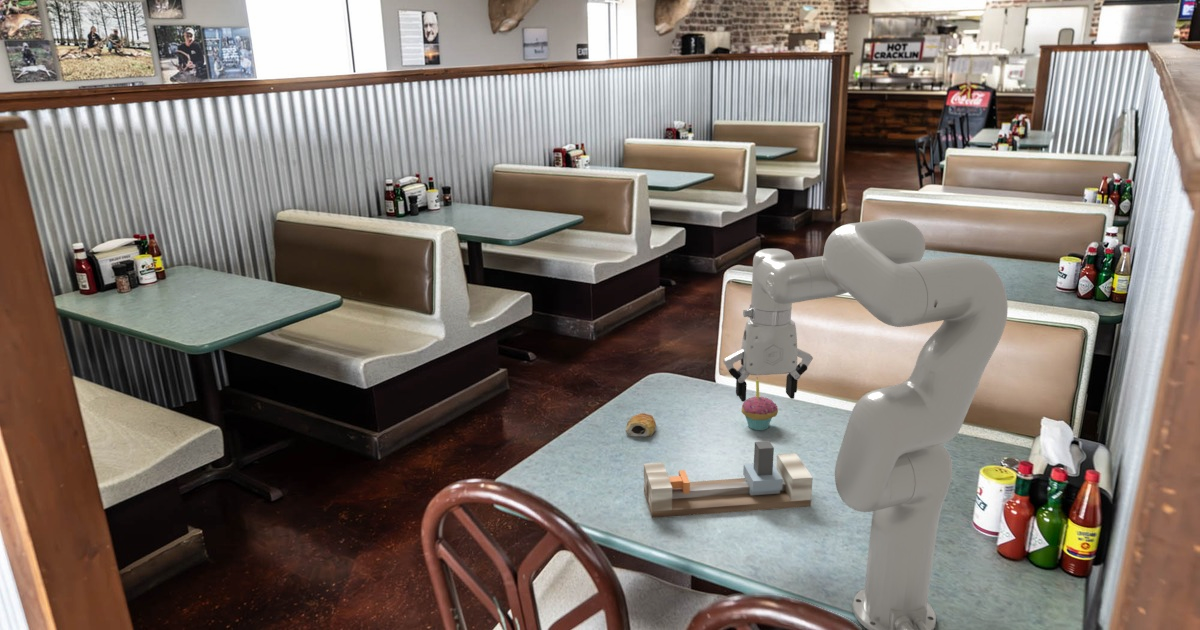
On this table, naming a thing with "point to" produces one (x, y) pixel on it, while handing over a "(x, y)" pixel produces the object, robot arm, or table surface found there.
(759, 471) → the carriage
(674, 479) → the button
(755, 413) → the cupcake
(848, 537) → the table surface
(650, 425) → the pastry
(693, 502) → the rail bench
